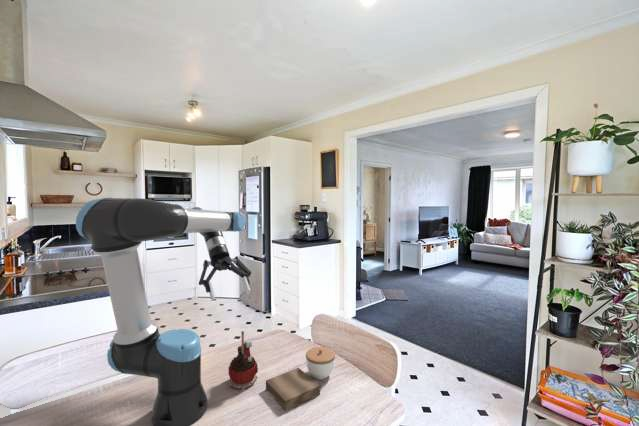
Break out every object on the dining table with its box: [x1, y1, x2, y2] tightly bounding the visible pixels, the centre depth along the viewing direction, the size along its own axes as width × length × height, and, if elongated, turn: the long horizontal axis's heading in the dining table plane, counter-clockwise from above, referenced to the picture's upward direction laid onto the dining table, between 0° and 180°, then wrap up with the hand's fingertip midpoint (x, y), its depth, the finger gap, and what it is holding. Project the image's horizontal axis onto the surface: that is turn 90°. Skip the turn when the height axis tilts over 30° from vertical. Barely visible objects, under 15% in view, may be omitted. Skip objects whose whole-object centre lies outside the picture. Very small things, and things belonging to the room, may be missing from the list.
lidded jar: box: [305, 346, 336, 380], centre depth 110 cm, size 11×11×9 cm
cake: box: [228, 330, 259, 389], centre depth 105 cm, size 11×9×18 cm
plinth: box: [265, 367, 321, 412], centre depth 100 cm, size 13×13×3 cm
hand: (231, 295), depth 113 cm, fingers open, 13 cm apart
